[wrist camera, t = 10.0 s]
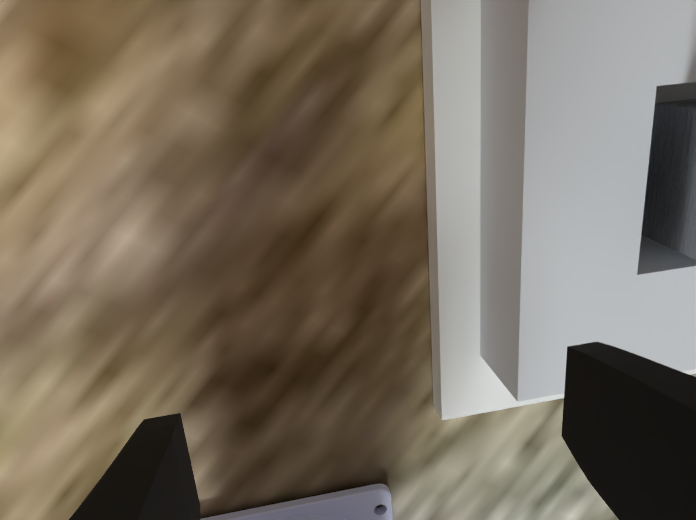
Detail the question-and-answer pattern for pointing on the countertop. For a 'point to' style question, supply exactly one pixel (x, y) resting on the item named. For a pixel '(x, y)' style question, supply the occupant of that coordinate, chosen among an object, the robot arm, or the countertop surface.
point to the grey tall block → (672, 178)
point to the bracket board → (548, 191)
